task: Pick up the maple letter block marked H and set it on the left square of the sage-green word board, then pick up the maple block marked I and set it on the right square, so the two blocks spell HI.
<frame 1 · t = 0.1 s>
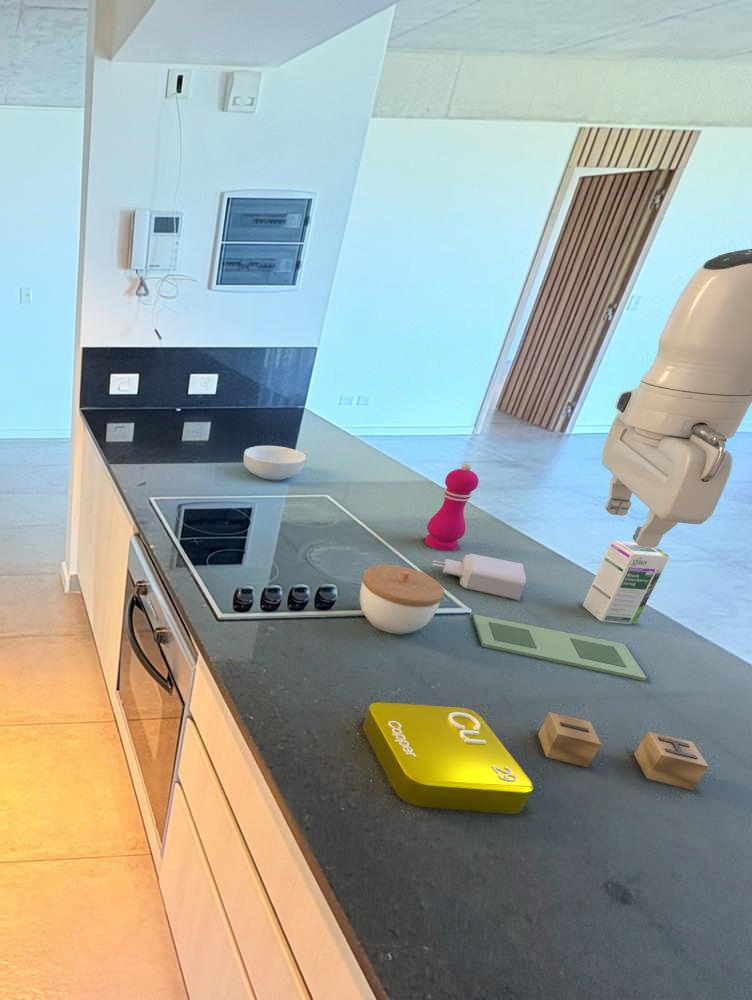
hand: (628, 527, 73), 33 cm above the worktop, tool pointing down, fingers open, 8 cm apart
cereal bowl: (270, 477, 181), on the worktop
charger: (471, 583, 126), on the worktop
block H: (661, 773, 82), on the worktop
block I: (561, 752, 85), on the worktop
element tile: (435, 766, 83), on the worktop
lidded bowl: (389, 625, 113), on the worktop
pepper mill: (439, 546, 141), on the worktop
word board: (551, 648, 106), on the worktop
syrup box: (606, 616, 115), on the worktop
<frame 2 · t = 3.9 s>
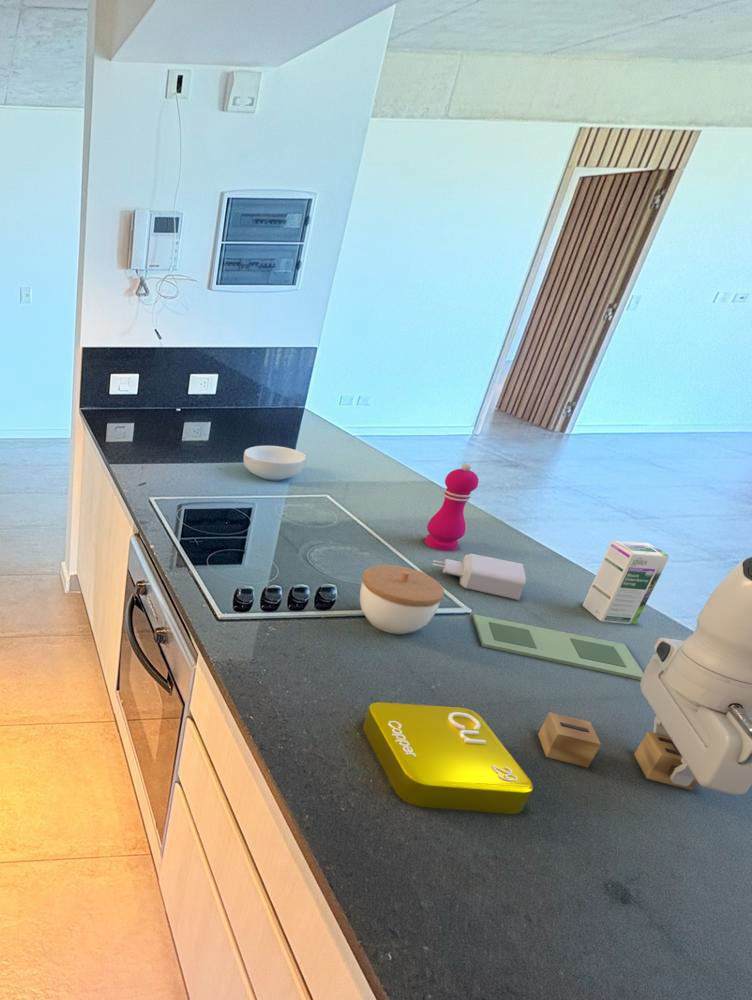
hand: (666, 764, 81), 2 cm above the worktop, tool pointing down, fingers closed on block H, 4 cm apart
block H: (661, 773, 82), on the worktop, touching gripper
everything else where it was.
when the fingers open (3 cm above the worktop, at t = 10.7 s): block H stays where it is, resting on word board.
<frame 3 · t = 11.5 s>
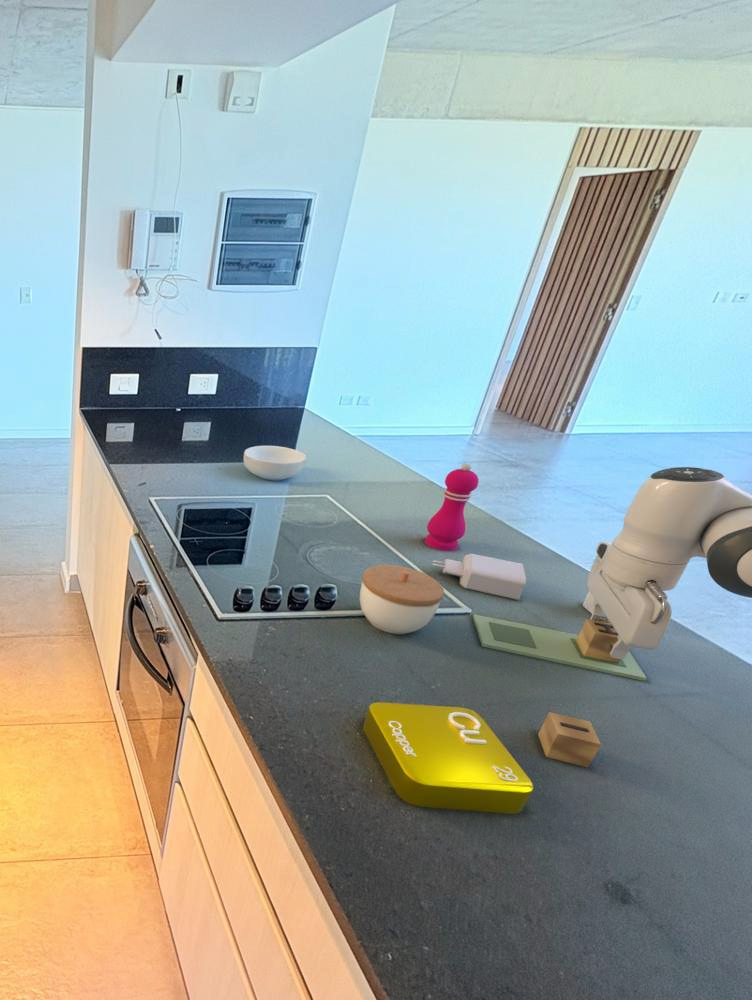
hand: (605, 640, 102), 4 cm above the worktop, tool pointing down, fingers open, 8 cm apart
block H: (596, 651, 103), point 1 cm above the worktop, touching word board
everything else where it was.
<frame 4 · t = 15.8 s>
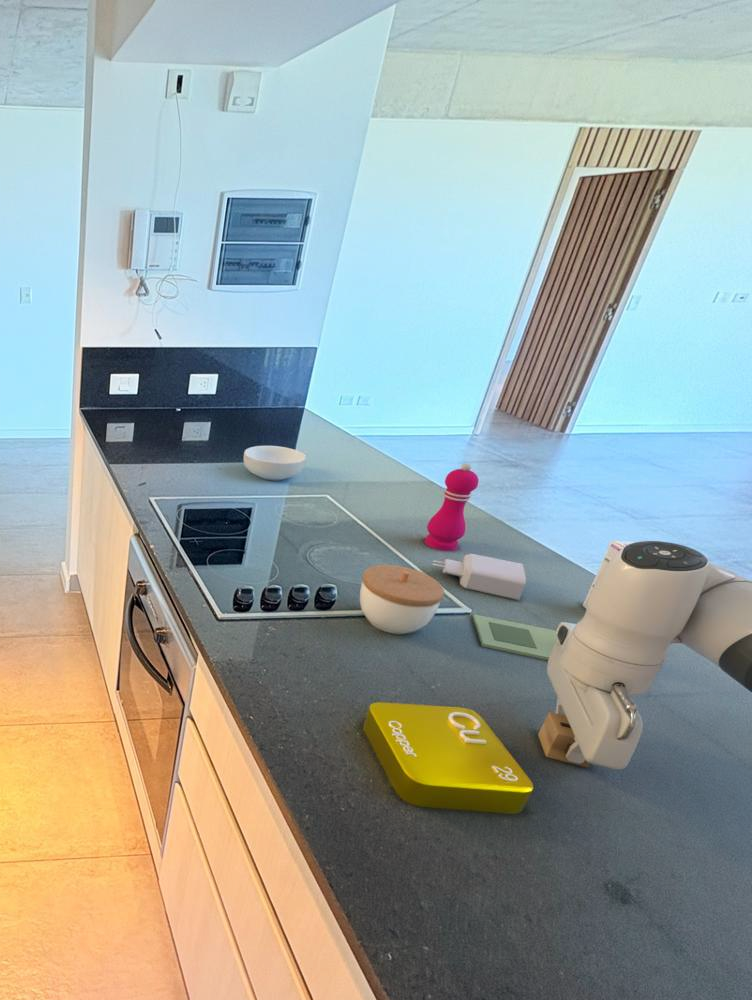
hand: (566, 743, 84), 2 cm above the worktop, tool pointing down, fingers closed on block I, 4 cm apart
block I: (561, 752, 85), on the worktop, touching gripper
everything else where it was.
when the fingers open (3 cm above the worktop, at t = 22.8 s): block I stays where it is, resting on word board.
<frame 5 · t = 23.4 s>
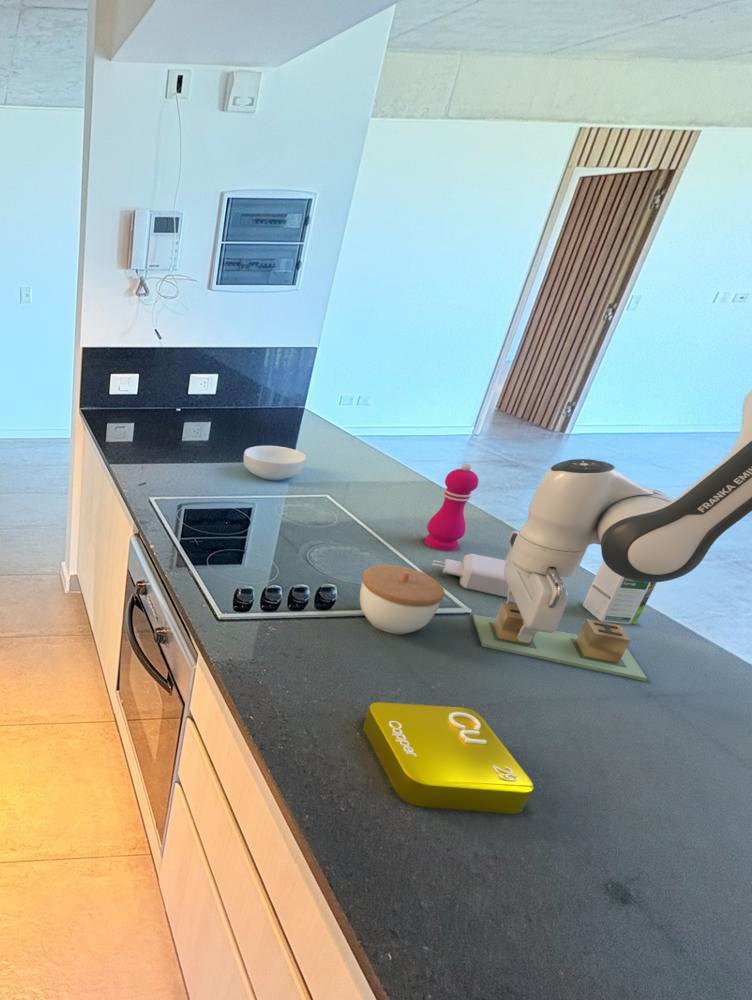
hand: (516, 625, 107), 3 cm above the worktop, tool pointing down, fingers open, 8 cm apart
block I: (511, 634, 108), point 1 cm above the worktop, touching word board
everything else where it was.
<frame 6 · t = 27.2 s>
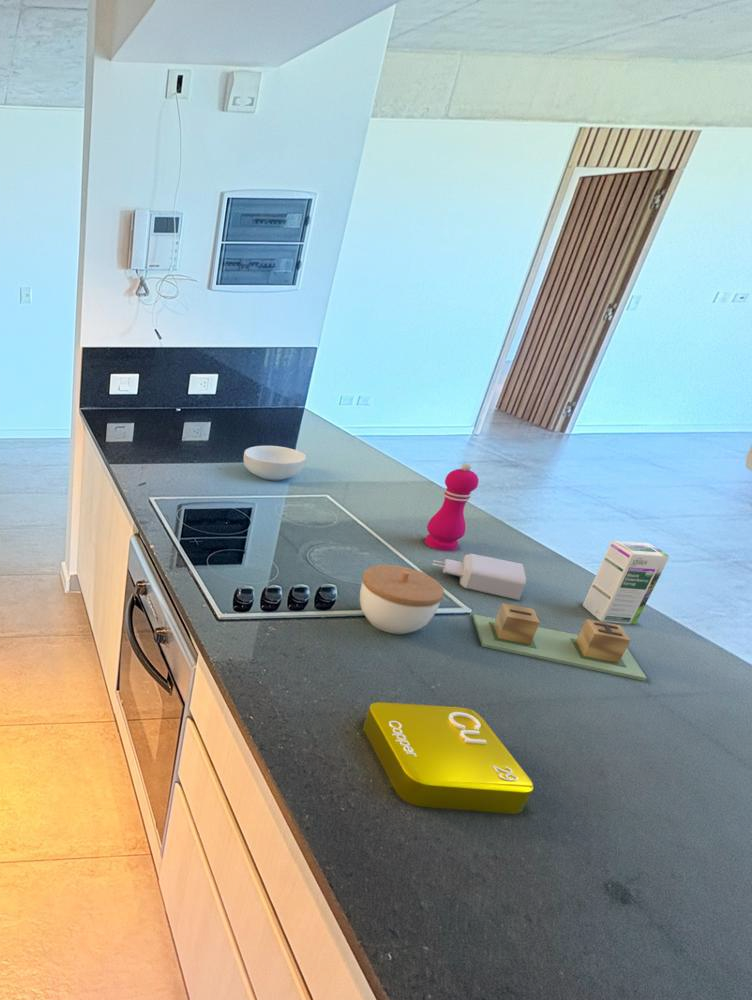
nothing on the worktop moved.
at the end: block H 0.2 cm from the target spot on the word board, point 1.1 cm above the word board's base; block I 0.1 cm from the target spot on the word board, point 1.1 cm above the word board's base; block H tilted 0° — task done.
